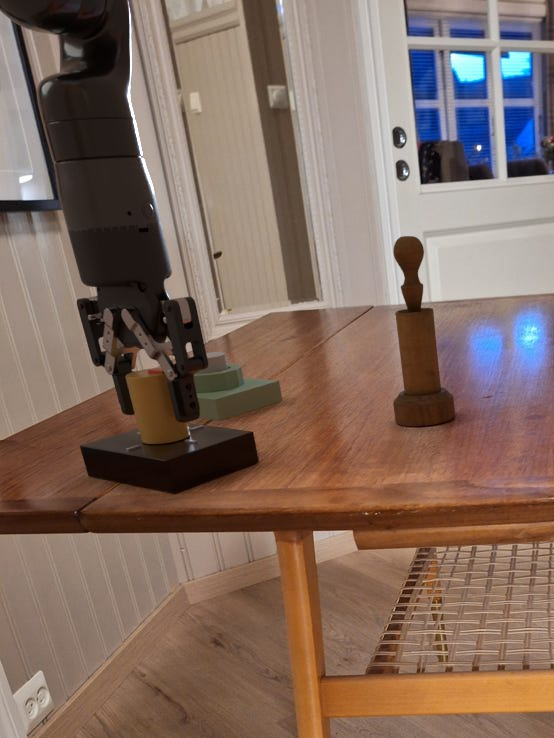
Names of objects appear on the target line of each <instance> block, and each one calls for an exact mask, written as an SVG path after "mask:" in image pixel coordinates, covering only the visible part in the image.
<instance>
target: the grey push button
mask: <svg viewBox="0 0 554 738" xmlns="http://www.w3.org/2000/svg"><path fill="white" fill-rule="evenodd" d="M206 355H207V359H208V368H207V369H203V370H200V371H198V372H197V373H198V374H202V373H213V372H220V371H223V370H227V369H228V365H227V364H228V360H227V355H226V353H225V352H223V351H211V352H206ZM191 357H194V356H193V355H192V356H191Z"/></svg>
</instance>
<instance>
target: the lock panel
mask: <svg viewBox="0 0 554 738" xmlns="http://www.w3.org/2000/svg"><path fill="white" fill-rule="evenodd" d="M188 426H189V431H190V436H189V437H187V438H185V439H182V440H179V441H176V442H171V443H164V444H146V443H143V442H142V440H141V436H140V432H139V428H138V427H137V428H134V429H131V430H127V431H125V432H120V433H117V434H114V435H110V436H107V437H104V438H103V437H102V438H100V439H96V440H93V441H90V442H87V443H84V444H83V443H82V444H80V445H79V449H80V453H81V456H82V460H83V463H84V466H85V470H86V472H87V476H88V477H90V478H91V477H92V478H97V479H101V480H104V481H105V480H106V481H111V482H116V483H119V484H120V483H121V484H125V485H131V486H135V487H140V488H144V489H150V490H155V491H160V492H164V493H170V494H177V493H180V492H182V491H183V492H184V491H185V490H188V489H190V488H194V487H197V486H199V485H202V484H205V483H207V482H210V481H212V480H215V479H217V478H221V477H224V476H225V475H229V474H231V473H234V472H237V471H239V470H243V469H245V468H247V467H250V466H253V465H256V464H259V462H260V460H259V454H258V449H257V445H256V443H257V442H256V439H255V433H254V431H253V430H252V431H251V430H244V429H237V428H230V427H223V426H216V425H215V426H214V425H207V424H199V423H192V422H188Z"/></svg>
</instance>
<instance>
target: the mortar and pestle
mask: <svg viewBox="0 0 554 738" xmlns="http://www.w3.org/2000/svg"><path fill="white" fill-rule="evenodd" d="M392 252H393V258H394V260H395V262H396V263H397V265H398V267H399V268H400V271H402V274H403V277H404V278H403V279H404V280H403V284H402V285H400V291H401V295H402V297H403V300H404V304H405V306H406V308H405V309H400V310H399V309H398V310H396V311H395V322H396V323H395V324H396V331H397V339H398V347H399V357H400V365H401V375H402V381H403V382H402V383H403V390H402V391H400V392H399V393H398V395H397V396H396V397H395V398H394V399H393V402H392V403H393V404H392V405H393V413H394V422H395V423H396V424H397V425H400V426H404V427H424V426H433V425H438V424H439V425H440V424H442V423H446V422H449V421H451V420H453V419H454V418H455V417H456V407H455V399H454V394H453V393H452V392H450V391H449V390H448V389H447V388H446V387H442V383H441V377H440V376H441V374H440V368H439V367H440V366H439V365H440V364H439V356H438V346H437V345H438V344H437V337H436V336H437V335H436V325H435V312H434V308H432V307H422V302H423V295H424V284H423V283H421V280H420V277H419V270H420V267H421V265H422V263H423V260H424V256H425V248H424V245H423V243H422V241H421V240H420V239H419V238H418V237H417V236H413V235H403V236H400V237H398V238H397V239H396V241H395V242H394V245H393V251H392Z"/></svg>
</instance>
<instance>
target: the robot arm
mask: <svg viewBox="0 0 554 738" xmlns="http://www.w3.org/2000/svg"><path fill="white" fill-rule="evenodd" d="M130 10H131V9H130V2H129V0H0V12H1V13H2V14H3V15H4V16H5V17H7V19H9V20H10V21H12V22H13V23H15V24H16V25H18V26H20V27H21V28H24V29H26V30H28V31H32V32H35V33H41V34H49V35H54V36H57V38H58V46H59V72H55V73H53V74H50V75H47V76H45V77H44V78H43V79H42V80H40V81H39V83H38V85H37V88H36V100H37V106H38V110H39V114H40V118H41V123H42V126H43V130H44V134H45V138H46V141H47V146H48V149H49V153H50V157H51V161H52V162H53V168H54V169H53V170H54V173H55V181H56V188H57V195H58V199H59V203H60V208H61V211H62V214H63V219H64V222H65V225H66V229H67V233H68V237H69V241H70V244H71V248H72V252H73V255H74V260H75V263H76V268H77V271H78V274H79V278H80V281H81V282H82V284H83V285H84V286H87V287H89V288H96V295H94V296H88V297H81V298H77V300H76V307H77V310H78V314H79V315H78V316H79V318H80V322H81V326H82V329H83V333H84V336H85V337H84V338H85V341H86V345H87V347H88V352H89V355H90V358H91V359H90V360H91V362H92V364H93V365H94V366H95V367H97V368H98V367H102V368H104V370H105V372H106V373H107V374H108V376H109V375H110V376H111V377H112V381H113V386H114V387H115V392H116V396H117V400H118V403H119V406H120V410H121V413H122V414H123V415H125V416H135V412H134V409H133V405H132V401H131V397H130V393H129V389H128V385H127V381H126V377H125V376H126V375H127V374H129V373H131V372H135V371H136V370H135V369H136V363H137V357H138V353H139V352H140V351H141V350H144V351H145V353H146V355H147V356H148V358H149V359H151V360H153V361H156V362H157V364H158V365H159V366H160V367H159V368H162V370H163V371H164V373H165V375H166V376H167V378H168V379H169V380H170V381H167V384H168V389H169V393H170V397H171V401H172V406H173V410H174V414H175V418H176V420H177V421H178V422H183V423H186V422H188V423H191V422H193V421H197V420H199V419H200V418H199V416H200V406H199V402H198V397H197V392H196V388H195V383H194V375H195V374H196V373H197V372H198V371H200V370H203V369H207V368H208V359H207V355H206V353H207V350H206V346H205V345H206V344H205V341H204V336H203V332H202V326H201V323H200V318H199V313H198V309H197V303H196V301H195V299H194V298H193V297H192V296H184V297H176V298H171V297H170V296H169V294H168V292H167V289H166V286H165V281H166V280H167V279H169V278H170V277H171V276H172V274H173V269H172V265H171V260H170V255H169V251H168V246H167V242H166V238H165V233H164V228H163V223H162V220H161V214H160V210H159V205H158V201H157V196H156V192H155V188H154V185H153V181H152V179H151V175H150V173H149V170H148V168H147V164H146V160H145V158H144V153H143V152H144V151H143V147H142V142H141V139H140V133H139V129H138V124H137V120H136V116H135V112H134V108H133V104H132V98H131V93H132V92H131V90H132V89H131V88H132V26H131V25H132V23H131V11H130ZM101 338H102V344H101V345H100V339H101ZM167 339H168V340H169V341H167ZM187 344H190V347H191V350H192V356H194V357H192V356H190V355H189V352H188V351H187V347H186V346H187ZM101 347H102V348H103V349H104V350H103V351H102V349H101ZM170 356H173V357H174V361H175V362H173V360H172V359H171V357H170Z"/></svg>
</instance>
